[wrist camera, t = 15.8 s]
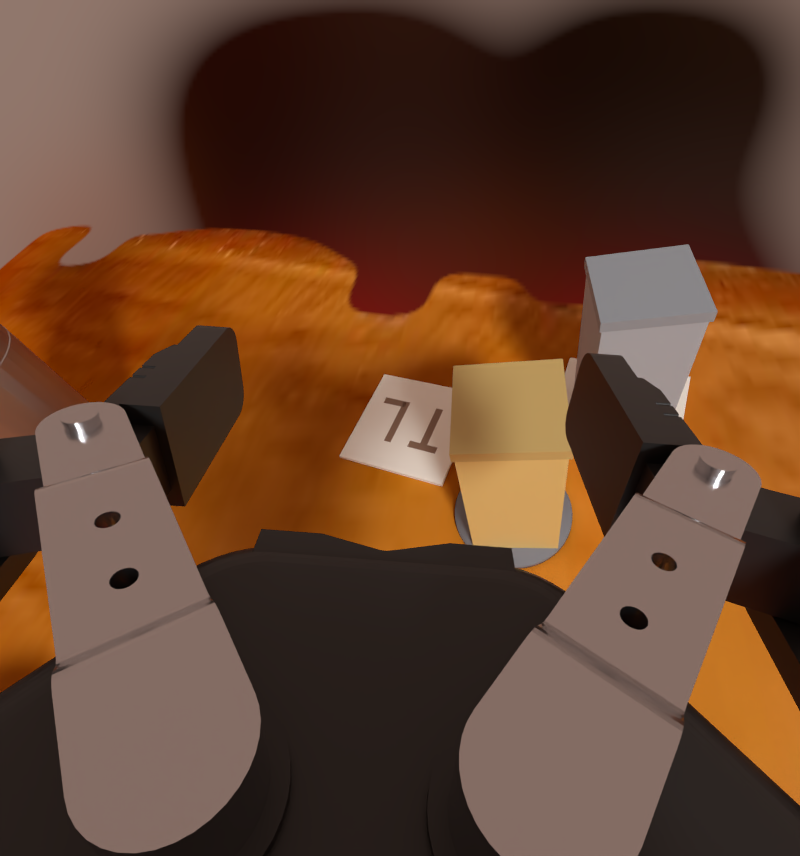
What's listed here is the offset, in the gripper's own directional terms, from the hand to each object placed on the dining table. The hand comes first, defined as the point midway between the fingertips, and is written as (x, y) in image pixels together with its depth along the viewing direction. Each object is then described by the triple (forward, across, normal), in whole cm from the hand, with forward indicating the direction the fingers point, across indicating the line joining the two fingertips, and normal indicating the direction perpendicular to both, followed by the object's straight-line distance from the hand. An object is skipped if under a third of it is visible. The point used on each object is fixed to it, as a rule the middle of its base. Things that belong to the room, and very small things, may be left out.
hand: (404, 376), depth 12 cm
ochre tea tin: (+16, -8, +18) cm, 26 cm away
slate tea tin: (+23, -16, +14) cm, 31 cm away
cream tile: (+24, 0, +18) cm, 30 cm away
